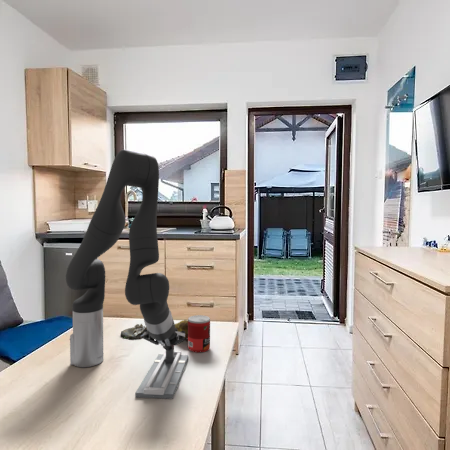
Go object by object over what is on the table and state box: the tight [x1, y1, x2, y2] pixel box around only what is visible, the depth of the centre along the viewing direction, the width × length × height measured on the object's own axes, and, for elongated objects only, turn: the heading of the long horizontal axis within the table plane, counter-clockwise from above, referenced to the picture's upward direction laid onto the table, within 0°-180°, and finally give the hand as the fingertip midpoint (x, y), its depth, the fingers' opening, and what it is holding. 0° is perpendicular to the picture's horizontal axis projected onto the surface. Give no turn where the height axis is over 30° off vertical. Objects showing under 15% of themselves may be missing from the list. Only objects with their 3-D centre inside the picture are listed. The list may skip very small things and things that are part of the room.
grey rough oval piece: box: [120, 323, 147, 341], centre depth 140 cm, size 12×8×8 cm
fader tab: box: [165, 345, 175, 363], centre depth 112 cm, size 3×3×10 cm
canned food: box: [187, 314, 211, 353], centre depth 126 cm, size 8×8×11 cm
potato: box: [174, 319, 188, 340], centre depth 135 cm, size 8×13×8 cm, turn 15°
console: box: [134, 350, 189, 399], centre depth 105 cm, size 10×26×2 cm, turn 177°
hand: (168, 347), depth 110 cm, fingers closed
